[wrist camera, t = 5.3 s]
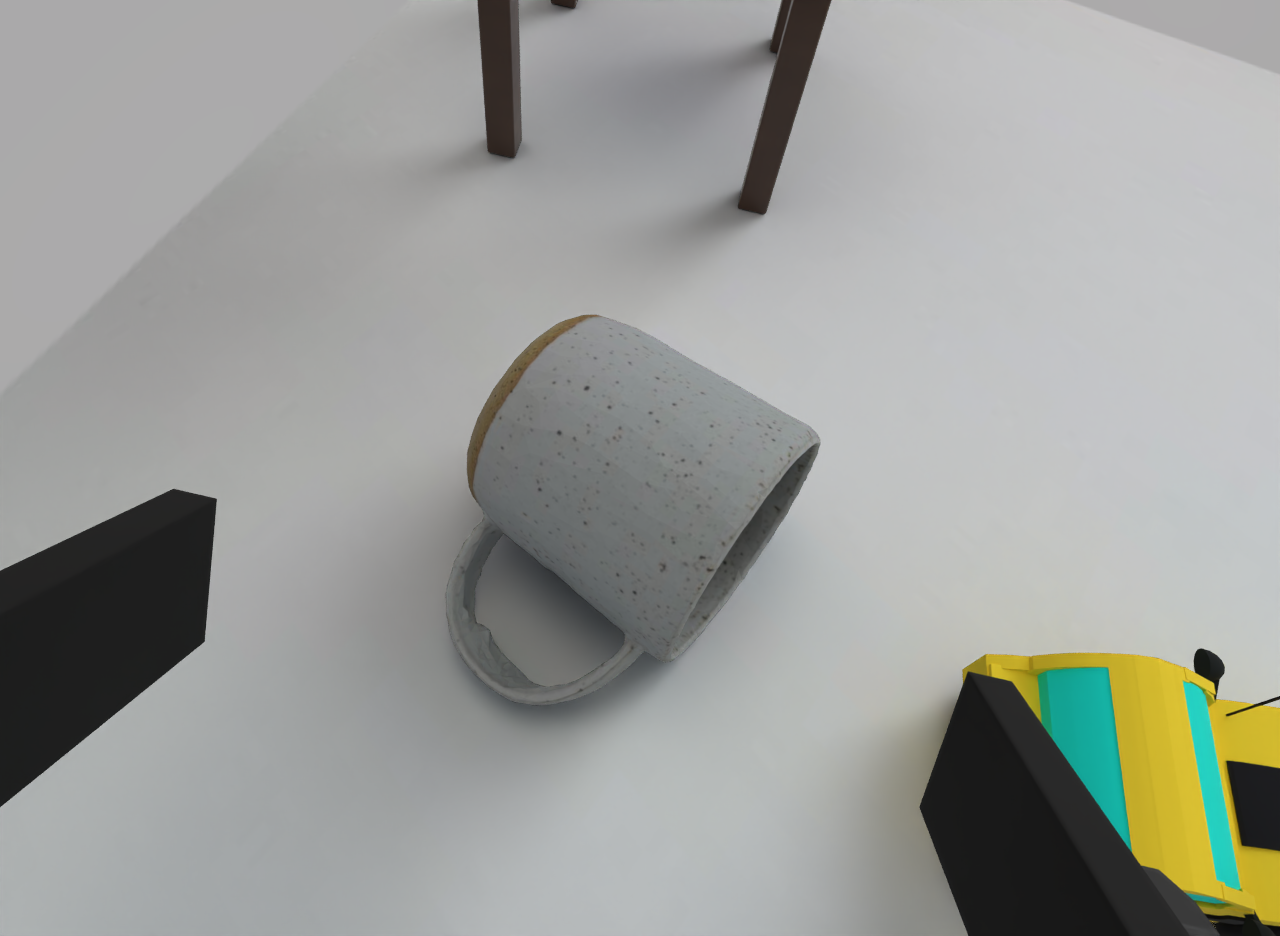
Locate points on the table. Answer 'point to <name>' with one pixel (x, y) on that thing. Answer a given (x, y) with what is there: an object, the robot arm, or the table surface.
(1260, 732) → the toy car
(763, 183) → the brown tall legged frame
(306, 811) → the table surface
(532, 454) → the ceramic mug
